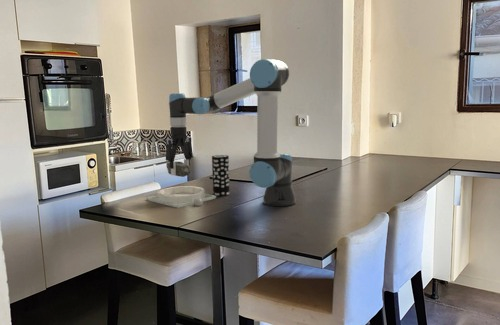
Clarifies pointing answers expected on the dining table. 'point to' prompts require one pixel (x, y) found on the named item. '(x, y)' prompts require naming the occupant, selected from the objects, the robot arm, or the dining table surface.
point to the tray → (155, 199)
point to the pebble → (198, 202)
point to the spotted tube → (220, 175)
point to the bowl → (181, 194)
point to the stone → (179, 169)
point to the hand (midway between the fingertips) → (180, 173)
